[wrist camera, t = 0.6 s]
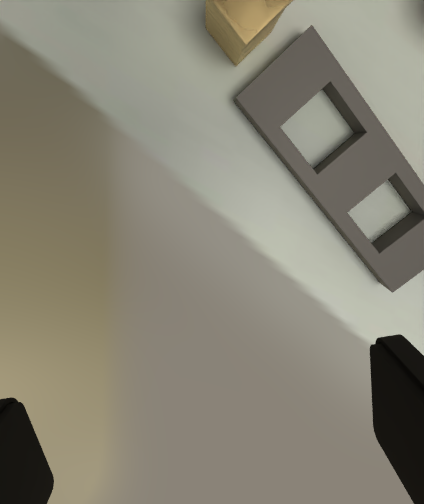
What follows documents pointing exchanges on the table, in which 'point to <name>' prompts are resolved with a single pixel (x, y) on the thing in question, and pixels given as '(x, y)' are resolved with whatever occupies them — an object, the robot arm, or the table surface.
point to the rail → (340, 155)
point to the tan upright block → (242, 24)
